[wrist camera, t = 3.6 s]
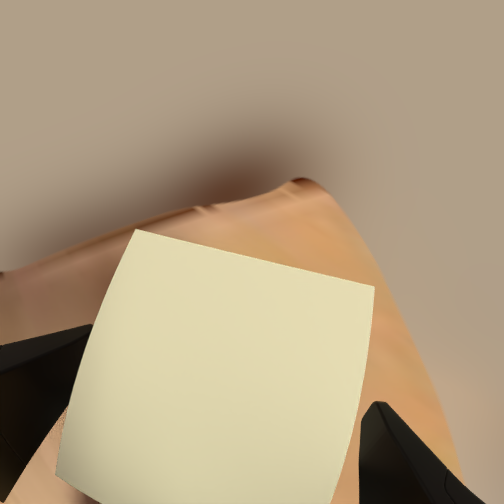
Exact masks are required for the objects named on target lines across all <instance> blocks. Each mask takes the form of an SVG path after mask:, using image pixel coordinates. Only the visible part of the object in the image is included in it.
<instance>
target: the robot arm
mask: <svg viewBox="0 0 504 504" xmlns="http://www.w3.org/2000/svg"><path fill="white" fill-rule="evenodd" d="M93 326H94V325H92V324H88V325H84V326H80V327H76V328H72V329H68V330H64V331H60V332H56V333H52V334H47V335H43V336H39V337H35V338H31V339H26V340H22V341H18V342H13V343H9V344H4V345H0V501H1V502H2V503H4V501H5V500H6V498H7V497H8V495H9V493H10V492H11V490H12V488H13V487H14V485H15V483H16V482H17V480H18V479H19V477H20V475H21V474H22V472H23V471H24V469H25V468H26V465H27V464H28V463H29V461H30V460H31V458H32V456H33V455H34V453H35V452H36V450H37V449H38V447H39V446H40V444H41V443H42V442H43V440H44V439H45V437H46V436H47V434H48V433H49V431H50V430H51V428H52V427H53V426H54V424H55V423H56V421H57V420H58V419H59V417H60V416H61V414H62V413H63V412H64V410H65V409H66V407H67V406H68V405H69V402H70V398H71V394H72V391H73V387H74V383H75V380H76V377H77V373H78V370H79V367H80V364H81V360H82V357H83V354H84V351H85V348H86V345H87V342H88V339H89V337H90V334H91V331H92V328H93ZM359 504H485V503H484V502H483V501H482V500H480V499H479V498H478V497H477V496H476V495H474V494H473V493H472V492H471V491H470V490H469V489H468V488H467V487H466V486H464V485H463V484H462V483H461V482H460V481H459V480H458V479H457V478H456V477H455V476H454V475H453V473H452V472H451V471H450V470H449V469H447V467H446V466H445V465H444V464H443V463H442V462H441V461H440V460H439V458H438V457H437V456H436V455H435V454H434V453H433V452H432V451H431V450H430V449H429V448H428V447H427V446H426V445H425V443H424V442H423V441H422V440H421V439H420V438H419V437H418V436H417V435H416V434H415V433H414V432H413V431H412V429H411V428H410V427H409V426H408V425H407V424H406V423H405V422H404V421H403V420H402V419H401V418H400V416H399V415H398V414H397V413H396V412H395V411H394V410H393V409H392V408H391V407H390V406H389V405H388V404H387V403H386V402H381V401H375V402H373V403H372V404H371V406H370V407H369V409H368V410H367V412H366V413H365V415H364V416H363V418H362V421H361V433H360V449H359Z"/></svg>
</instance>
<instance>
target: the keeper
mask: <svg viewBox="0 0 504 504" xmlns="http://www.w3.org/2000/svg"><path fill="white" fill-rule="evenodd" d="M374 289H375V287H374V286H370V285H366V284H361V283H357V282H353V281H349V280H344V279H340V278H336V277H332V276H327V275H323V274H319V273H315V272H311V271H306V270H302V269H298V268H294V267H290V266H286V265H281V264H277V263H273V262H269V261H265V260H261V259H256V258H252V257H248V256H244V255H240V254H236V253H232V252H228V251H223V250H219V249H215V248H211V247H207V246H203V245H199V244H195V243H191V242H187V241H182V240H178V239H174V238H170V237H166V236H162V235H158V234H154V233H150V232H146V231H142V230H138V229H136V230H135V232H134V234H133V236H132V238H131V240H130V242H129V244H128V246H127V248H126V250H125V252H124V254H123V256H122V259H121V261H120V263H119V265H118V267H117V269H116V272H115V274H114V276H113V278H112V281H111V283H110V285H109V288H108V290H107V293H106V295H105V297H104V300H103V302H102V305H101V307H100V310H99V312H98V315H97V318H96V320H95V323H94V326H93V328H92V331H91V334H90V337H89V339H88V342H87V345H86V348H85V351H84V354H83V357H82V360H81V364H80V367H79V370H78V373H77V377H76V380H75V383H74V387H73V391H72V394H71V398H70V402H69V406H68V410H67V414H66V418H65V423H64V427H63V432H62V437H61V442H60V447H59V453H58V459H57V465H56V472H55V475H56V476H58V477H59V478H61V479H62V480H64V481H65V482H67V483H68V484H70V485H71V486H73V487H74V488H76V489H77V490H79V491H81V492H82V493H84V494H86V495H87V496H89V497H91V498H93V499H94V500H96V501H98V502H100V503H102V504H330V502H331V500H332V497H333V494H334V491H335V488H336V485H337V482H338V479H339V476H340V473H341V470H342V467H343V464H344V460H345V457H346V453H347V450H348V446H349V442H350V439H351V435H352V431H353V427H354V422H355V418H356V414H357V409H358V405H359V400H360V395H361V390H362V384H363V379H364V373H365V367H366V361H367V354H368V347H369V339H370V331H371V323H372V313H373V302H374Z"/></svg>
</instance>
